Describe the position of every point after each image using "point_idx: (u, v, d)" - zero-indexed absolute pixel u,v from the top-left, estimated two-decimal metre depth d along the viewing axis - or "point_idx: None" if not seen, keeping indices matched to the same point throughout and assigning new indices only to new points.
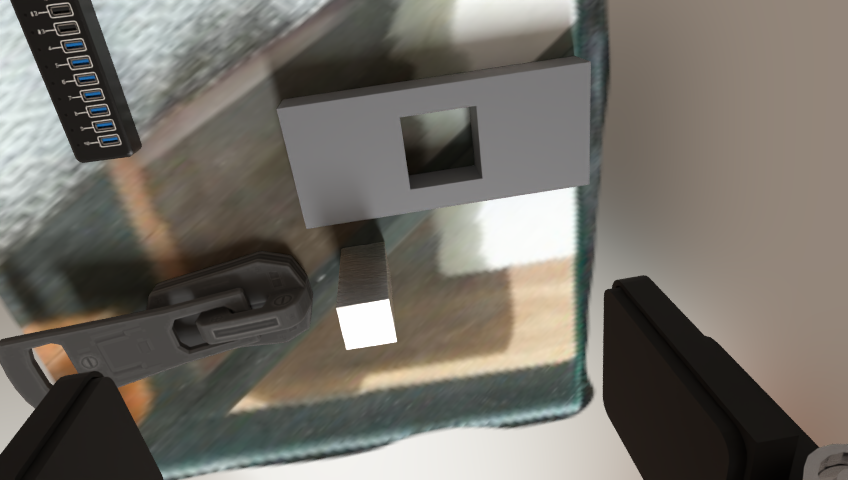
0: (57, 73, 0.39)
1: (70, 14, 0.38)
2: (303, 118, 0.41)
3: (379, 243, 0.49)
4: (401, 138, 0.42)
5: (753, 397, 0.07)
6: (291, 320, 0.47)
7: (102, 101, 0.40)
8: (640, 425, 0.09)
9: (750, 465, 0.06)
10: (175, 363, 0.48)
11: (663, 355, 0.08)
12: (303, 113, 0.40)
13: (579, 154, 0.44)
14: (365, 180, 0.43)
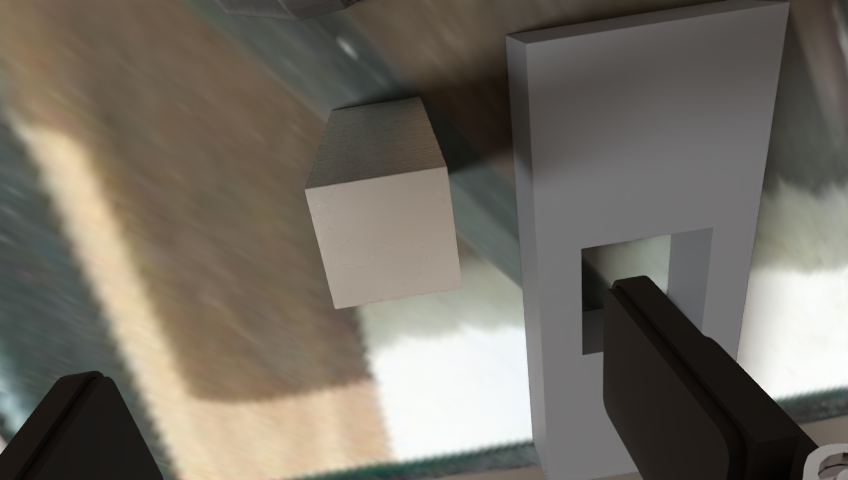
0: None
1: None
2: (756, 55, 0.21)
3: None
4: (677, 231, 0.24)
5: (753, 397, 0.07)
6: None
7: None
8: (640, 425, 0.09)
9: (750, 465, 0.06)
10: None
11: (663, 355, 0.08)
12: (766, 57, 0.21)
13: (596, 468, 0.30)
14: (612, 169, 0.22)
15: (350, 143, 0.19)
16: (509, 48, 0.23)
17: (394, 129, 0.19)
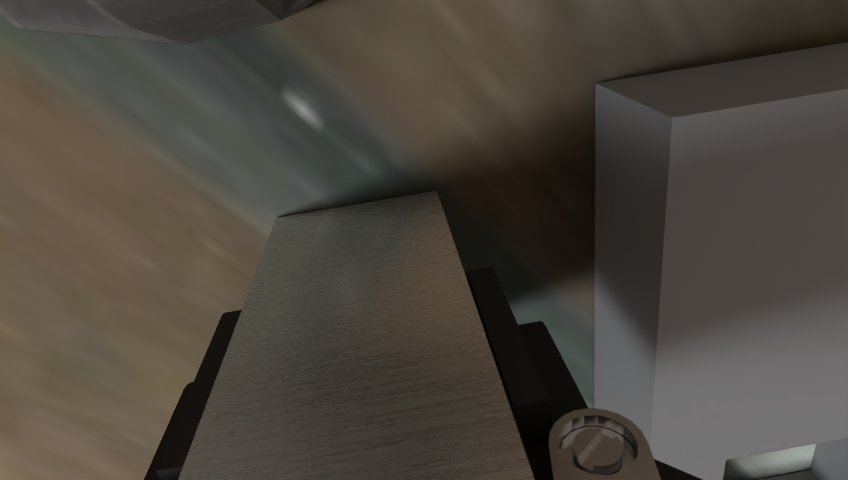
0: None
1: None
2: None
3: None
4: None
5: (529, 370, 0.08)
6: None
7: None
8: None
9: None
10: None
11: None
12: None
13: None
14: (803, 338, 0.12)
15: (292, 365, 0.08)
16: (606, 109, 0.12)
17: (393, 313, 0.09)
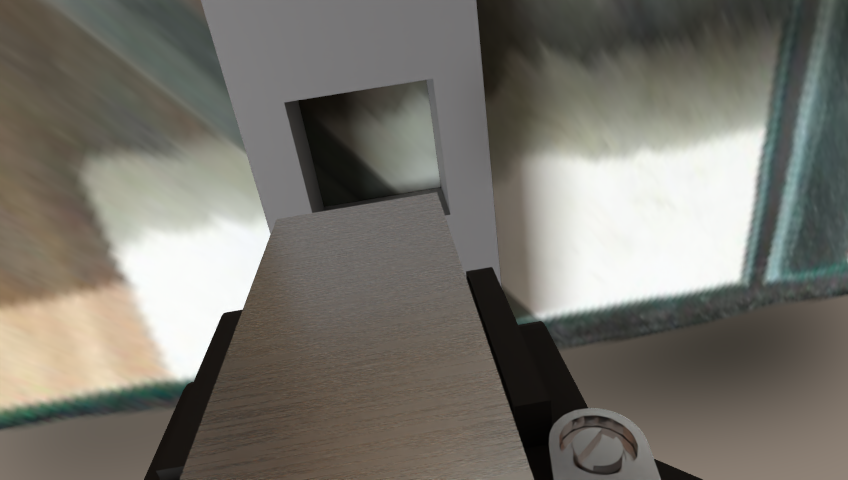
0: None
1: None
2: None
3: None
4: (391, 82, 0.21)
5: (529, 370, 0.08)
6: None
7: None
8: None
9: (516, 427, 0.07)
10: None
11: None
12: None
13: None
14: (296, 2, 0.20)
15: (293, 368, 0.08)
16: None
17: (394, 316, 0.09)
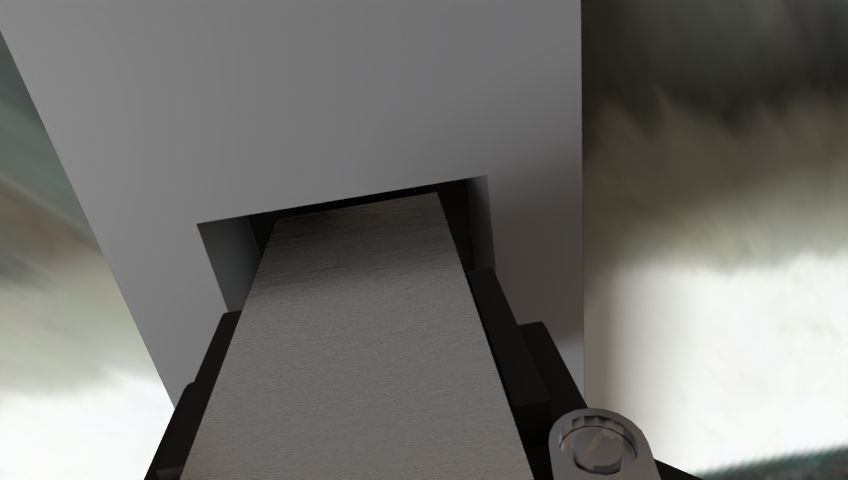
0: None
1: None
2: None
3: None
4: (407, 183, 0.11)
5: (529, 370, 0.08)
6: None
7: None
8: None
9: (516, 427, 0.07)
10: None
11: None
12: None
13: None
14: (209, 31, 0.09)
15: (292, 367, 0.08)
16: None
17: (394, 316, 0.09)
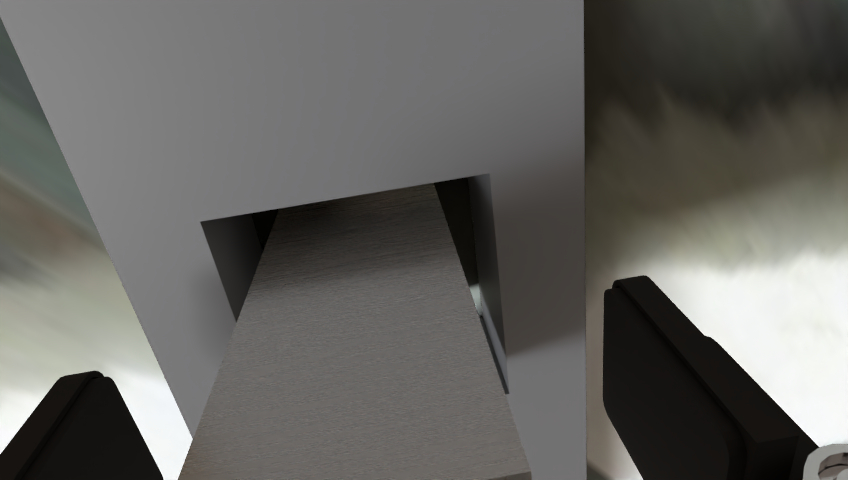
0: None
1: None
2: None
3: None
4: (410, 181, 0.11)
5: (753, 397, 0.07)
6: None
7: None
8: (640, 425, 0.09)
9: (750, 465, 0.06)
10: None
11: (663, 355, 0.08)
12: None
13: None
14: (213, 29, 0.09)
15: (302, 309, 0.09)
16: None
17: (389, 269, 0.10)
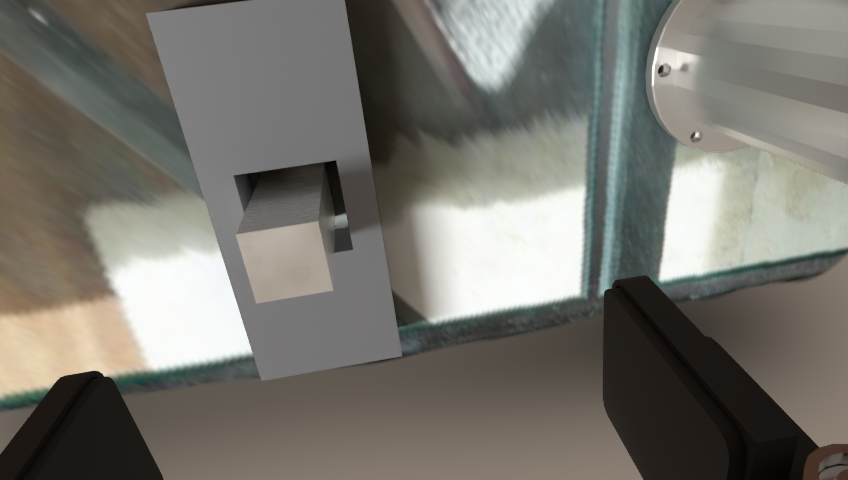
0: None
1: None
2: (329, 27, 0.29)
3: (334, 212, 0.37)
4: (307, 162, 0.32)
5: (753, 397, 0.07)
6: None
7: None
8: (640, 425, 0.09)
9: (750, 465, 0.06)
10: None
11: (663, 355, 0.08)
12: (337, 29, 0.29)
13: (298, 364, 0.38)
14: (241, 112, 0.30)
15: (268, 200, 0.30)
16: None
17: (298, 190, 0.31)
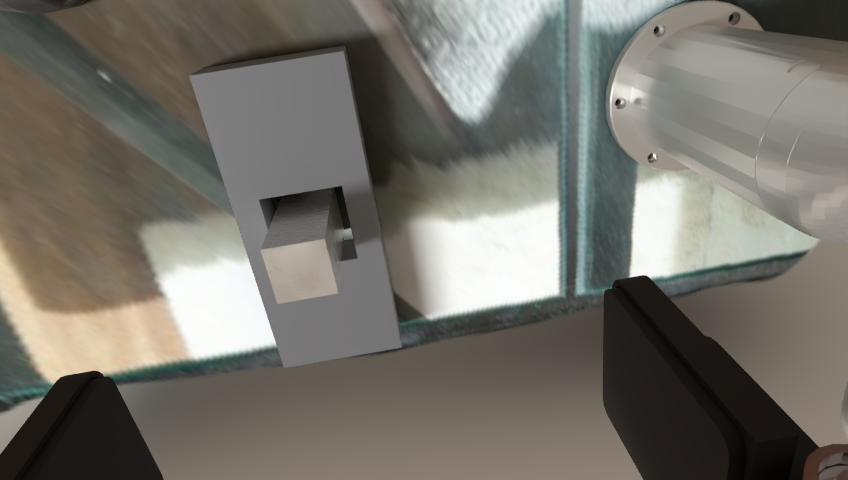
0: None
1: None
2: (333, 81, 0.35)
3: (342, 226, 0.43)
4: (318, 188, 0.39)
5: (753, 397, 0.07)
6: None
7: None
8: (640, 425, 0.09)
9: (750, 465, 0.06)
10: None
11: (663, 355, 0.08)
12: (340, 82, 0.36)
13: (314, 354, 0.45)
14: (264, 149, 0.37)
15: (287, 220, 0.37)
16: None
17: (310, 211, 0.38)
